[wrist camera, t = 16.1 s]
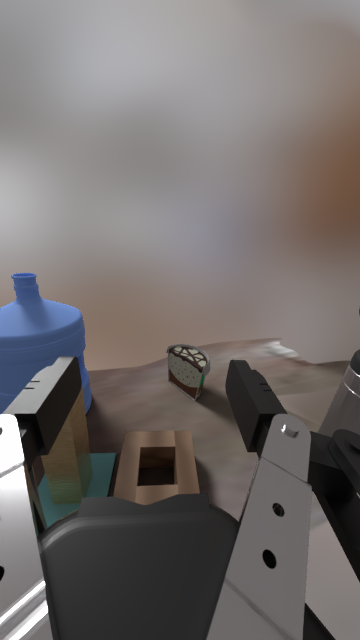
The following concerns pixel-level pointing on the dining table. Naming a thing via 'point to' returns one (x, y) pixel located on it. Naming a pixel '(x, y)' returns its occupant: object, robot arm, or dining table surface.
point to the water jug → (37, 339)
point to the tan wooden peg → (70, 458)
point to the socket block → (156, 465)
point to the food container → (187, 368)
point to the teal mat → (97, 488)
